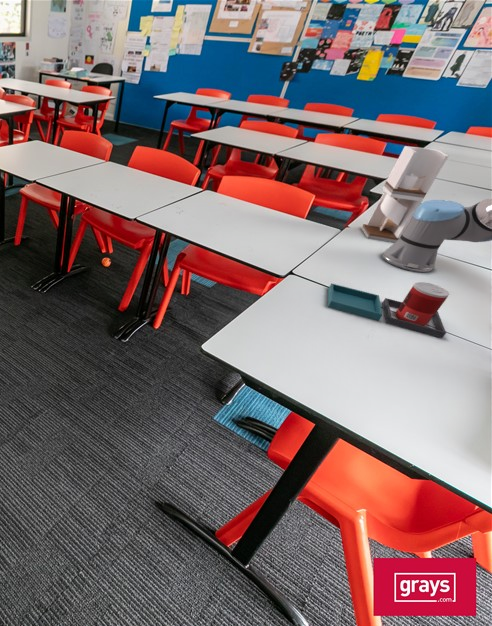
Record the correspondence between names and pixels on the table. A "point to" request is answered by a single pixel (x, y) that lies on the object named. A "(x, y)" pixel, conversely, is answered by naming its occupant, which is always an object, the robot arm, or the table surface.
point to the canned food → (421, 303)
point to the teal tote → (354, 302)
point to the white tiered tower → (404, 192)
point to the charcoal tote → (408, 325)
